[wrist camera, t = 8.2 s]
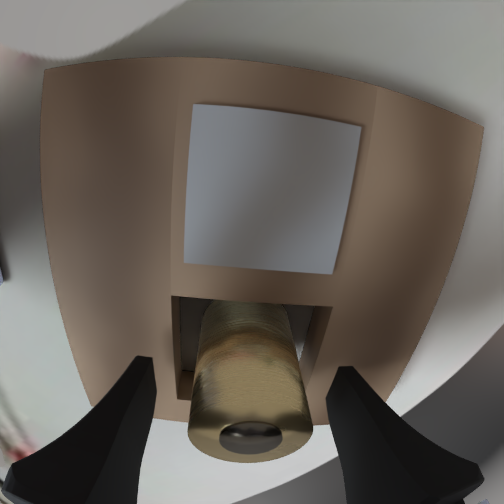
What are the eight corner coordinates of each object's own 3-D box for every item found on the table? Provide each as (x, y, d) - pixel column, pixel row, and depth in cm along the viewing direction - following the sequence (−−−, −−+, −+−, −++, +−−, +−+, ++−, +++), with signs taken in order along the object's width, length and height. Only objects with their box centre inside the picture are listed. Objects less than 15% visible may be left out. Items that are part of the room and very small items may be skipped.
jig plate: (101, 381, 15) (89, 409, 13) (71, 74, 9) (39, 68, 7) (365, 395, 17) (376, 423, 15) (454, 122, 10) (488, 128, 8)
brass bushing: (203, 356, 15) (193, 464, 9) (200, 288, 13) (180, 402, 7) (283, 357, 15) (302, 463, 9) (293, 290, 13) (326, 401, 8)
